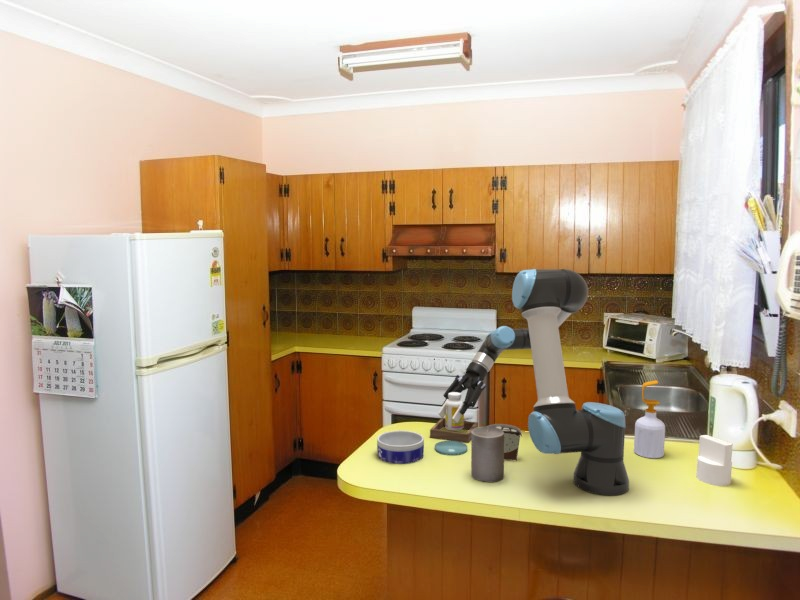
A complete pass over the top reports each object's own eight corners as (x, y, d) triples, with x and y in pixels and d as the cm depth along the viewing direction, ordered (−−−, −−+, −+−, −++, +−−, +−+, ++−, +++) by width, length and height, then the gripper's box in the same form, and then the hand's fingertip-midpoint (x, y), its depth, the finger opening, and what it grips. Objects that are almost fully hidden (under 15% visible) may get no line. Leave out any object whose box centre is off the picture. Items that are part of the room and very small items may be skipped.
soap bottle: (664, 460, 185) (669, 385, 182) (634, 456, 188) (637, 383, 185) (662, 450, 193) (666, 379, 191) (633, 447, 196) (636, 376, 194)
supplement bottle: (467, 428, 209) (467, 393, 208) (456, 432, 204) (456, 397, 203) (452, 424, 214) (453, 390, 212) (441, 428, 209) (441, 393, 208)
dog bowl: (367, 454, 189) (367, 437, 189) (402, 443, 200) (402, 427, 199) (398, 468, 178) (398, 449, 177) (433, 456, 188) (433, 438, 188)
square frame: (468, 442, 200) (468, 434, 200) (430, 437, 205) (430, 429, 205) (477, 430, 213) (477, 422, 213) (441, 425, 218) (441, 418, 218)
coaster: (462, 457, 187) (462, 454, 187) (430, 452, 191) (430, 449, 191) (470, 445, 197) (470, 443, 197) (440, 441, 201) (440, 439, 201)
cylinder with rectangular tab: (689, 475, 173) (691, 437, 172) (710, 471, 177) (712, 433, 175) (716, 487, 165) (718, 447, 163) (737, 482, 168) (740, 442, 167)
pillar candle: (495, 467, 179) (495, 420, 177) (509, 480, 169) (509, 430, 168) (465, 471, 176) (466, 423, 174) (478, 484, 167) (478, 434, 165)
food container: (519, 453, 190) (520, 424, 189) (521, 460, 184) (522, 430, 183) (481, 452, 192) (482, 422, 191) (482, 459, 186) (483, 428, 185)
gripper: (504, 378, 209) (472, 430, 201) (465, 368, 224) (434, 417, 216) (494, 365, 205) (461, 418, 197) (455, 357, 221) (423, 406, 212)
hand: (447, 418), depth 206 cm, fingers closed on supplement bottle, 7 cm apart
